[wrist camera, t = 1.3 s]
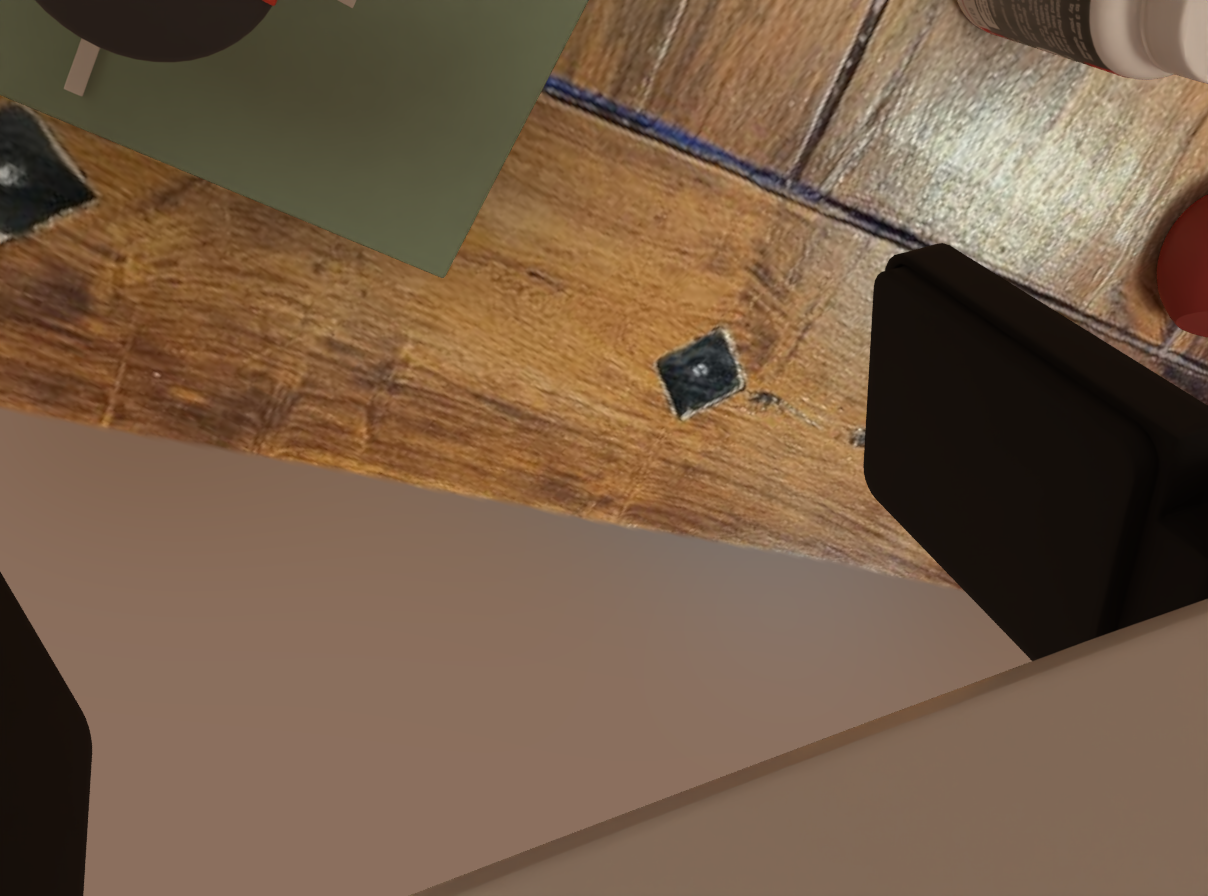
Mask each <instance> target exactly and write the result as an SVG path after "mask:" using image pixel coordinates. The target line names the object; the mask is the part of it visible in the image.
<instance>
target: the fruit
mask: <svg viewBox="0 0 1208 896" xmlns="http://www.w3.org/2000/svg"><path fill="white" fill-rule="evenodd" d="M1157 286H1158V291H1159V295H1160V298H1161V301H1162V304H1163V306H1164V308H1165V310H1166V311H1167V313H1168V315H1169V316H1170V318H1171V319H1172V320H1173V321H1174V323H1175V324H1176V325H1177V326H1178V327H1179V328H1181V329H1182V330H1185V331H1187V332H1189V333H1192V334H1196V335H1200V336H1204V337H1208V195H1206V196H1204V197H1202V198H1200V199H1199V200H1197V201H1196V202H1194V203H1193V204H1192V205H1191V206H1190V207H1188V208H1187V209H1186V210H1185V211H1184V212H1183V213H1182V214H1181V216H1180V217H1179V218H1178V219H1177V220H1176V222H1175V223H1174V224H1173V226H1172V227H1171V229H1170V230H1169V232H1168V234H1167V236H1166V238H1165V240H1164V242H1163V245H1162V247H1161V251H1160V255H1159V258H1158V264H1157Z"/></svg>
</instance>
